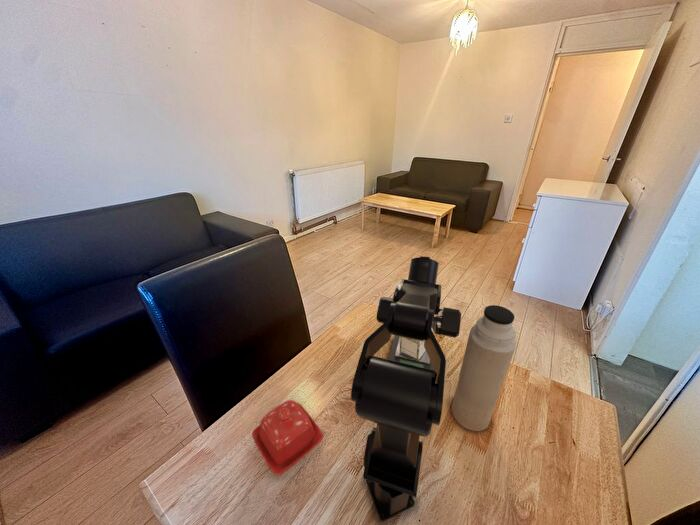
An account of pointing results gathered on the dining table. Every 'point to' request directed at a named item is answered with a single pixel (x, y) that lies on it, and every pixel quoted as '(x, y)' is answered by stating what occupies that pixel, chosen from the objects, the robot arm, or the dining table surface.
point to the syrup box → (412, 347)
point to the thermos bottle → (484, 368)
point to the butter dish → (286, 436)
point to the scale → (403, 358)
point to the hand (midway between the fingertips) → (417, 321)
